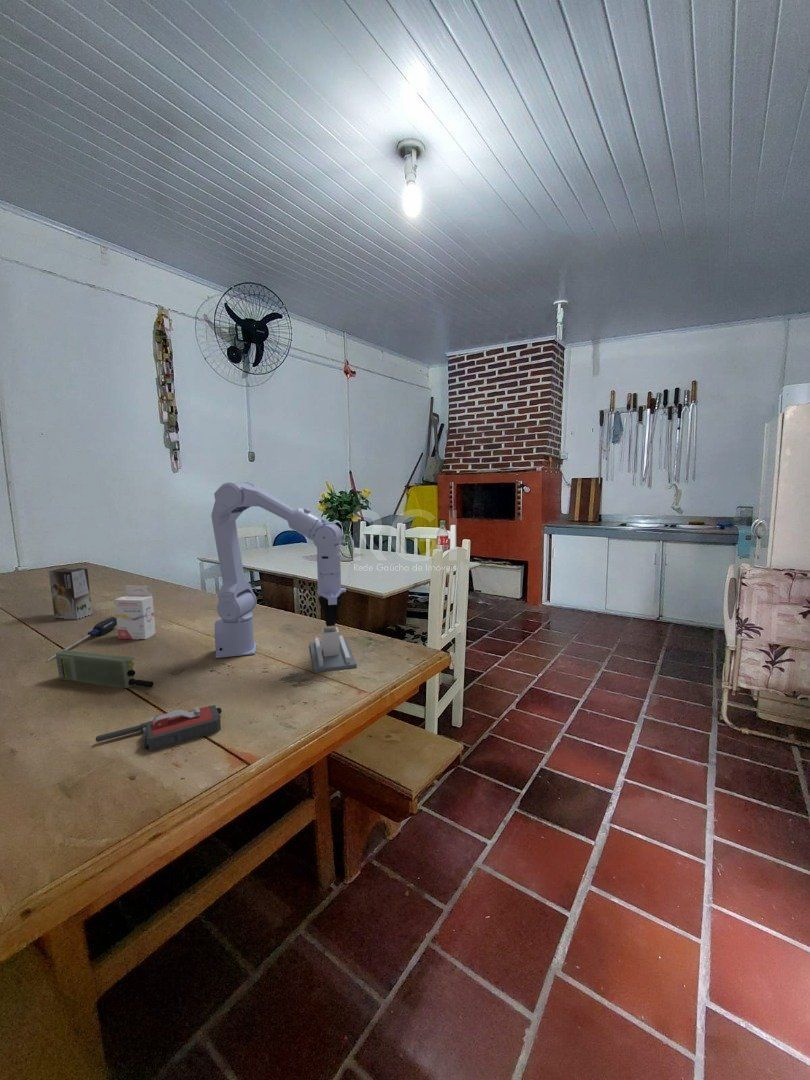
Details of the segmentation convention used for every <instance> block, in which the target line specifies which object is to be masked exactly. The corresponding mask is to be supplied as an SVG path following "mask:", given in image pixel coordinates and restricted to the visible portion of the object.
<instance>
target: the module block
mask: <svg viewBox="0 0 810 1080" xmlns="http://www.w3.org/2000/svg"><path fill="white" fill-rule="evenodd" d="M339 636H340V631H339V628H338V626H328V627H324V628H323V627H321V641H322V651H323V656H333V655H340V647H339Z"/></svg>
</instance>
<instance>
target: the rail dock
mask: <svg viewBox="0 0 810 1080" xmlns="http://www.w3.org/2000/svg"><path fill="white" fill-rule="evenodd" d="M309 646H310V647H309V648H310V654H311V662H312V668H313V673H320V672H330V671H339V670H347V669H354V668H358V667H357V661H356V660H355V657H354V654H353V652H352V649H351V647H350V644H349V641H348V639H347V638H344V636H343V635H342V634H341V635H340V634H339V647H340V655H333V656H323V651H322V640H321V641H320V638H319V637H315V638H314V641H312V642H309Z"/></svg>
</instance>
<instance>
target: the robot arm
mask: <svg viewBox="0 0 810 1080" xmlns="http://www.w3.org/2000/svg"><path fill="white" fill-rule="evenodd" d="M213 496H214V504H213V507H212V512H211V523H212V529H213V533H214V540H215V546H216V552H217V556H218V557H217V558H218V562H219V563H218V564H219V569H220V576H221V580H222V585H221V587H220V589H219V591H218V592H217V597H218V602H217V605H216V612H217V614H218V616H219V618H221V619H216V620H215V622H214V643H215V645H214V646H215V658H216V659H220V658H230V657H239V656H250V655H255V654H256V650H257V645H258V642H256V641H255V634H254V618H253V617H254V616H253V615H254V613H253V610H254V609H255V608H256V606H257V603H258V602H257V596H256V594H255V592H253V589H252V584H250V582H248V581H247V580H246V578H245V571H244V566H243V559H242V558H243V557H242V552H241V548H240V542H239V540H240V539H239V535H238V530H237V524H236V520H237V519H238V518H239V517H240V516H241V515H242V514H243V512H244V511H246V510H248V509H249V508H252V507H258V508H259V507H260V508H262V509H264V510H265V511H268V512H269V513H271V514H273V515H276V516H277V517H279V518H280V519H283V520H285V521H287V524H288V528H289V529H291V530H292V531H295V532H296V533H298V534H300V535H301V536H303V537H306V538H307V539H309V540H310V541H312V543H313V544H314V546H315V547H316V566H317V567H316V568H317V572H316V573H317V590H316V591H317V593H316V594H317V595H319V597H318V598H317V600H318V603H319V605H320V606H321V608H322V611H323V617H324V621H325V625H326V627H336V623H337V617H338V612H339V610H340V609H339V608H340V606H341V604H342V601H343V599H342V596H341V594H342V593H346V592H347V588H346V587H342V576H341V575H342V574H341V572H342V569H341V567H342V566H341V545H340V543H341V541H342V540H343V531H342V529H341V528H340V526H339V525H337V523H335V522H327V521H328V520H327V519H326V518H320V517H319V516H316V515H315V514H313V513H311V511H312V510H311V509H309V508H307V507H306V508H302V507H299V508H296V509H295V508H293V507H291V506H290V505H288V504H286V503H285V502H283V501H282V500H280V499H279V498H277V497H275V496H274V495H272V494H271V493H269V492H267V491H266V490H264V489H263V488H262V487H261V486H260V487H259V486H257V485H255V484H253V483H251V482H249V481H248V482H246V481H245V482H225V483H222V484H221V485H220V486H219V487H218V488H217V489H216V491H215V492H214V494H213Z"/></svg>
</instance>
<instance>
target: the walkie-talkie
mask: <svg viewBox="0 0 810 1080" xmlns="http://www.w3.org/2000/svg"><path fill="white" fill-rule="evenodd" d="M221 714H222V708H221V707H217V706H216V704H213V705H207V706H203V707H199V706H196V707H195V708H194V709H192V710H188V711H186V710H184V709H176V710H172V711H169V712H168V713H161V714H157V715H156V716H151V717H148V718H147V719H148V720H147V721H146V722H143V723H140V724H138V725H134V726H131V727H127V728H123V729H120V730H119V729H118V730H115V731H110V732H107V733H102V734H99V735H97V736H95V739H94V740H95V741H96V742H97V743H100V742H105V741H107V740H111V739H115V738H118V737H122V736H126V735H129V734H133V733H138V732H143V735H142V744H143V745H142V746H143V747H142V748H147V747H148V751H149V752H154V751H158V750H161V749H164V748H168V747H171V746H175V745H177V744H181V743H185V742H188V741H192V740H195V739H199V738H202V737H206V736H209V735H213V734H216V733H219V732H220V731H221V730H222V728H221Z"/></svg>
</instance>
